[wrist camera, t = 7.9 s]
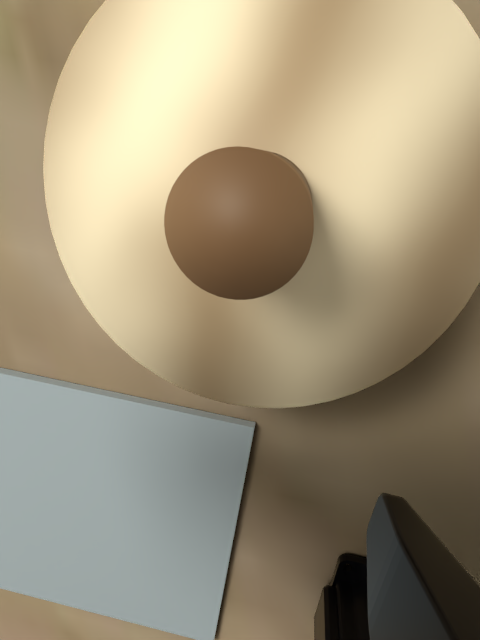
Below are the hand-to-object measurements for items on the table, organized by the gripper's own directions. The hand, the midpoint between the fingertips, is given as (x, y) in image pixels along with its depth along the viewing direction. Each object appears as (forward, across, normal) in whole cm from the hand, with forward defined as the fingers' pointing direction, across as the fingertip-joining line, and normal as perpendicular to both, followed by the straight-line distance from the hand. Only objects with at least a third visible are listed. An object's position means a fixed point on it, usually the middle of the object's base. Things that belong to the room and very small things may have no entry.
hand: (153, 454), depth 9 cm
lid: (+7, -1, -5) cm, 8 cm away
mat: (+12, +6, +14) cm, 20 cm away
